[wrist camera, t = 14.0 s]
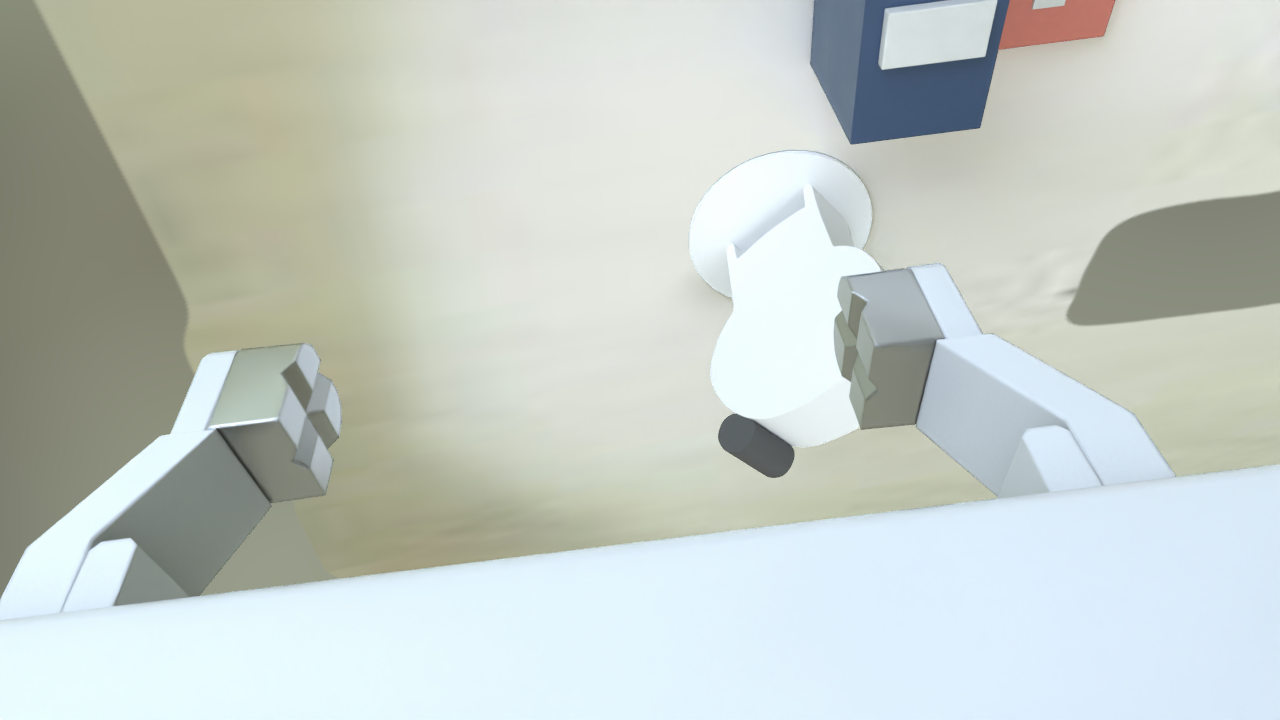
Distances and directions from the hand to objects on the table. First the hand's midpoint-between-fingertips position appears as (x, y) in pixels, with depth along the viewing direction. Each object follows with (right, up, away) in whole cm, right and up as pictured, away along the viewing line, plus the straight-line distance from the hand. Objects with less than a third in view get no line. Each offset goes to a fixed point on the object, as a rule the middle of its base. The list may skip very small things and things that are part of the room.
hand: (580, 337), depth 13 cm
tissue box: (+12, +19, +27) cm, 35 cm away
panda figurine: (+9, +8, +38) cm, 40 cm away
